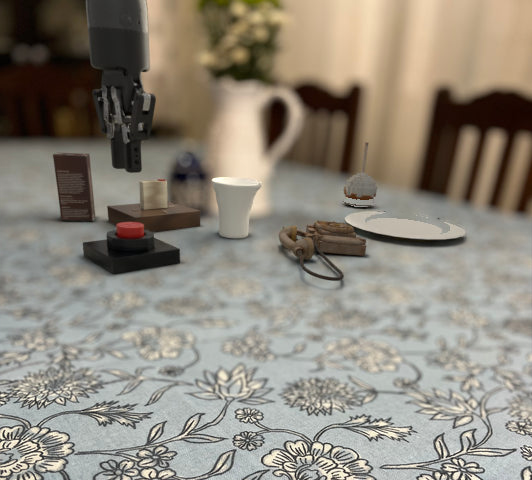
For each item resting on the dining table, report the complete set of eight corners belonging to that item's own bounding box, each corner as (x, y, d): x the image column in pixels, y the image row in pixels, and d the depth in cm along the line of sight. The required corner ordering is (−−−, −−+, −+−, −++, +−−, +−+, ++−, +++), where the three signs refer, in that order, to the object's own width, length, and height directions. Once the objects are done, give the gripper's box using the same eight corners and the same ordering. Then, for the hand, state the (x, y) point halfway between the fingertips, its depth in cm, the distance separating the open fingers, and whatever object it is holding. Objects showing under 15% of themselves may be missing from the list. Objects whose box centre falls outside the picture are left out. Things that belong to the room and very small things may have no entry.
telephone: (293, 286, 72) (297, 256, 70) (271, 230, 101) (273, 208, 100) (397, 294, 74) (403, 265, 72) (345, 237, 103) (349, 215, 101)
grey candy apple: (365, 203, 136) (374, 141, 129) (379, 209, 129) (389, 144, 123) (338, 202, 134) (345, 140, 127) (350, 209, 127) (359, 143, 120)
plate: (439, 254, 93) (441, 245, 92) (321, 228, 106) (322, 220, 105) (481, 233, 111) (482, 225, 111) (376, 213, 124) (377, 205, 124)
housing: (113, 274, 73) (111, 246, 71) (83, 256, 79) (81, 230, 78) (180, 262, 80) (179, 236, 78) (147, 247, 86) (146, 223, 84)
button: (124, 241, 75) (124, 229, 75) (112, 235, 78) (111, 223, 77) (149, 237, 78) (148, 226, 77) (136, 232, 80) (135, 220, 80)
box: (95, 216, 103) (90, 152, 98) (93, 221, 99) (86, 155, 94) (64, 216, 102) (56, 151, 97) (59, 221, 98) (52, 153, 93)
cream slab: (144, 209, 98) (142, 181, 95) (140, 208, 99) (139, 179, 96) (167, 207, 101) (166, 179, 98) (163, 206, 102) (162, 178, 99)
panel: (136, 234, 93) (135, 216, 92) (108, 221, 100) (107, 205, 99) (200, 226, 102) (200, 209, 100) (170, 215, 109) (170, 199, 107)
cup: (249, 243, 92) (251, 185, 88) (202, 236, 95) (202, 179, 90) (266, 233, 100) (269, 179, 95) (222, 226, 102) (223, 173, 98)
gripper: (173, 29, 63) (176, 176, 71) (119, 33, 73) (127, 163, 80) (117, 21, 59) (126, 179, 67) (67, 26, 68) (80, 164, 76)
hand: (126, 169), depth 74 cm, fingers open, 3 cm apart
